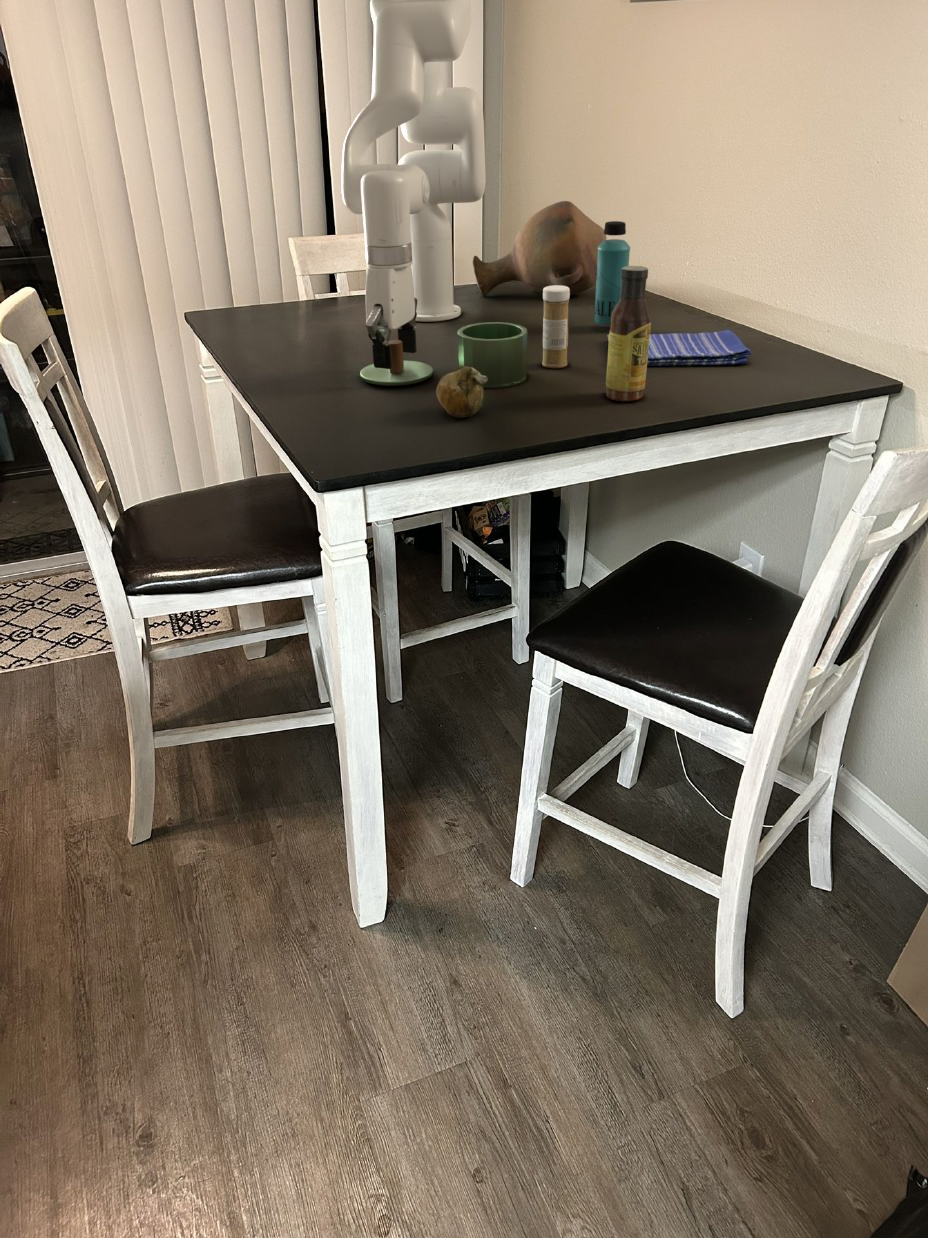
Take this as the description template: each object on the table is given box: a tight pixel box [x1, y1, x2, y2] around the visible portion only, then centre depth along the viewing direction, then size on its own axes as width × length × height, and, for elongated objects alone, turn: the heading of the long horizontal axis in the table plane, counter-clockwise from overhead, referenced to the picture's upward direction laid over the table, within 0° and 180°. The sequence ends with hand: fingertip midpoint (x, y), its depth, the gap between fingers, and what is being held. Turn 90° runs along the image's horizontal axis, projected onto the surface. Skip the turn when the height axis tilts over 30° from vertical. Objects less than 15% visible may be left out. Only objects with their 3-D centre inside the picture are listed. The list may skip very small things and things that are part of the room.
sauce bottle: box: [605, 265, 652, 403], centre depth 143 cm, size 7×6×20 cm
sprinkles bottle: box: [541, 285, 571, 370], centre depth 160 cm, size 5×5×14 cm
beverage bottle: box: [593, 220, 631, 326], centre depth 178 cm, size 6×7×20 cm
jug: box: [472, 200, 607, 298], centre depth 205 cm, size 20×20×30 cm
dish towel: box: [607, 329, 753, 367], centre depth 168 cm, size 17×24×3 cm
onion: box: [435, 366, 488, 419], centre depth 141 cm, size 8×8×8 cm
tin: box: [457, 321, 528, 389], centre depth 156 cm, size 12×12×8 cm
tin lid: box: [359, 339, 434, 387], centre depth 158 cm, size 13×13×6 cm
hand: (395, 359), depth 158 cm, fingers open, 9 cm apart
